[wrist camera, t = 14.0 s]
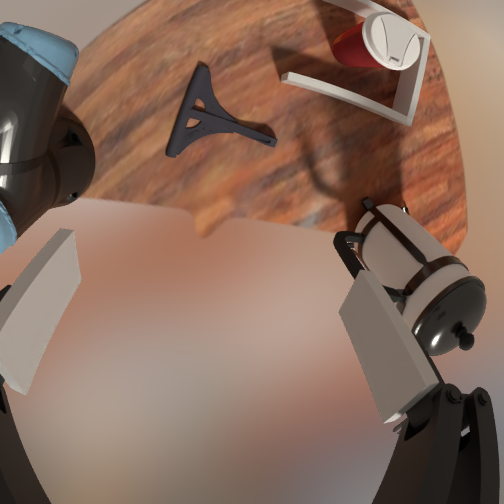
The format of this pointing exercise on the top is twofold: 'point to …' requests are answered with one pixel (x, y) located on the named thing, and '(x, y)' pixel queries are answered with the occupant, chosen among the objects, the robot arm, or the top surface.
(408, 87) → the box
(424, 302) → the coffee press
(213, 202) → the top surface
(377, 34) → the paper cup
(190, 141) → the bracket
